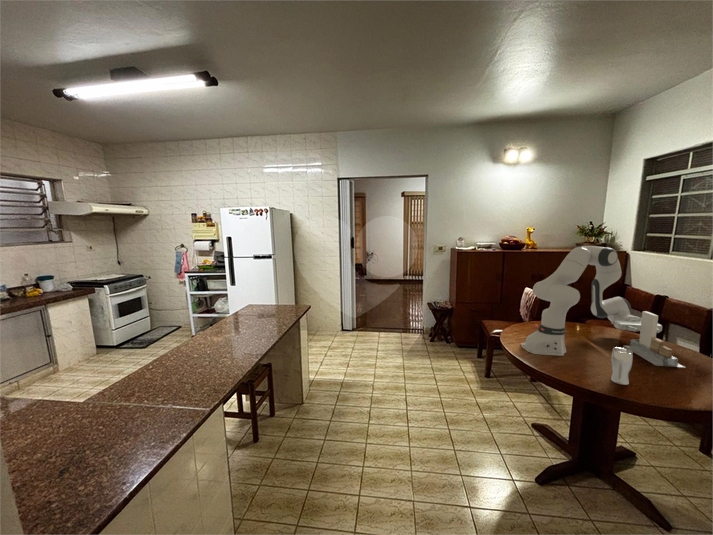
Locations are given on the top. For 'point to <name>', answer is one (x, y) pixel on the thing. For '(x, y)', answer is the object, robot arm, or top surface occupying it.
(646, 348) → the slot rack
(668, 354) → the short offcut
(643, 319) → the tall panel
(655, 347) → the tall offcut
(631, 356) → the beer glass
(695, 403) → the top surface
